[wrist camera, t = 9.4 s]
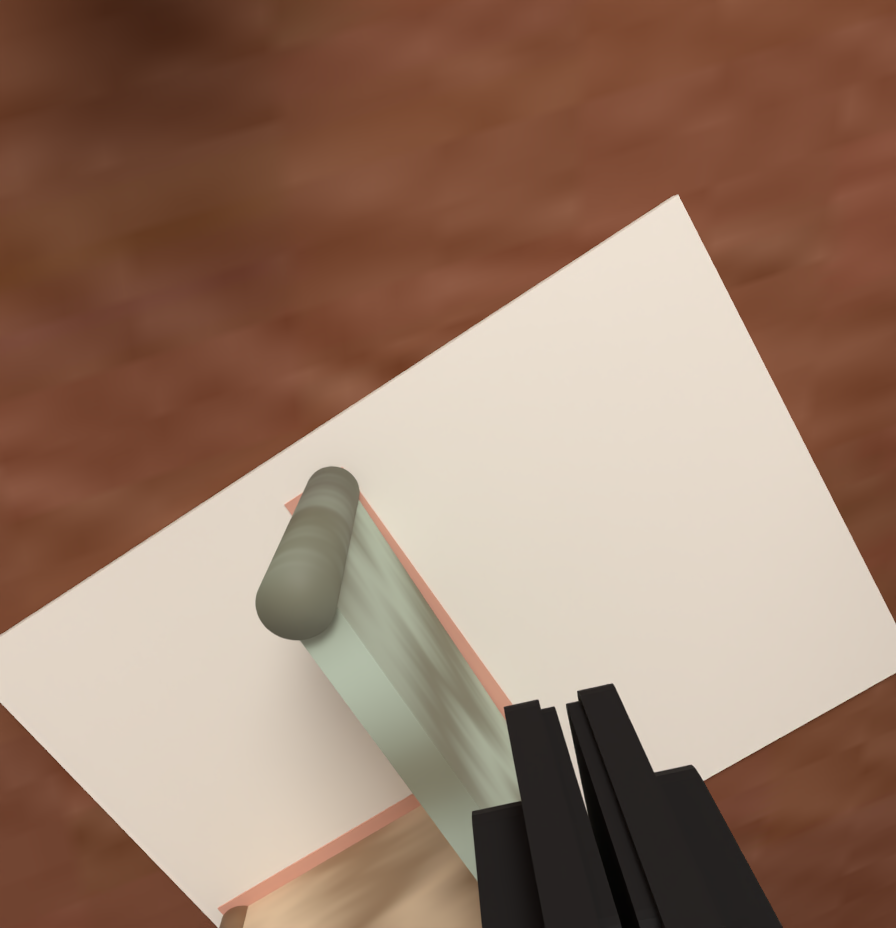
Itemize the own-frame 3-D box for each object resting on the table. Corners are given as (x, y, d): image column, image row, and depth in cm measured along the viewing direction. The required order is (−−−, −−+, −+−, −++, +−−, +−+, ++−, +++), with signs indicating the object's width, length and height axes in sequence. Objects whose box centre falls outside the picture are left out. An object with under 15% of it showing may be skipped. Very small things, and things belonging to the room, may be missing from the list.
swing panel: (521, 729, 27) (571, 927, 19) (480, 751, 27) (512, 956, 19) (341, 456, 24) (307, 552, 16) (295, 483, 24) (239, 592, 16)
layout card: (672, 196, 23) (678, 194, 22) (906, 655, 28) (916, 662, 27) (-31, 654, 25) (-40, 663, 25) (298, 997, 31) (296, 1010, 30)
